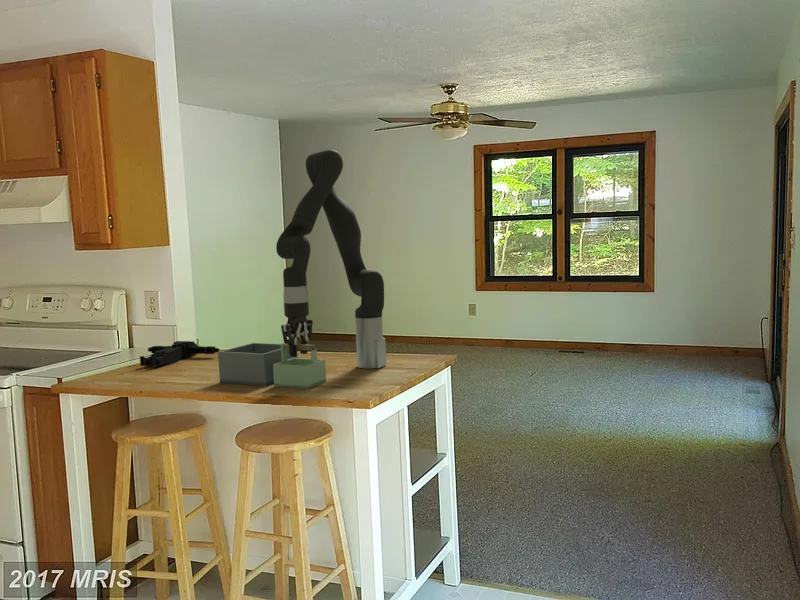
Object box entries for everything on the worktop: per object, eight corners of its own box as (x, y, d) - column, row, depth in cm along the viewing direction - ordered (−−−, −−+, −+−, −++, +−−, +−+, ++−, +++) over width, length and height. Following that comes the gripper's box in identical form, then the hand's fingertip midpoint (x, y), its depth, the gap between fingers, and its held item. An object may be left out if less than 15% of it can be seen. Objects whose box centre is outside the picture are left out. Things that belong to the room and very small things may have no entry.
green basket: (326, 381, 226) (324, 342, 224) (306, 389, 216) (304, 348, 215) (294, 379, 231) (292, 340, 230) (274, 386, 221) (271, 346, 220)
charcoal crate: (298, 374, 238) (296, 344, 237) (265, 386, 222) (263, 354, 221) (254, 371, 246) (253, 342, 245) (219, 382, 230) (217, 351, 229)
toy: (109, 354, 262) (157, 338, 290) (111, 371, 263) (159, 353, 291) (184, 355, 253) (226, 338, 282) (185, 373, 254) (227, 354, 283)
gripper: (292, 303, 213) (295, 360, 214) (319, 298, 226) (321, 351, 227) (272, 303, 216) (275, 358, 218) (299, 298, 229) (301, 350, 231)
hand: (298, 354), depth 223 cm, fingers open, 5 cm apart
